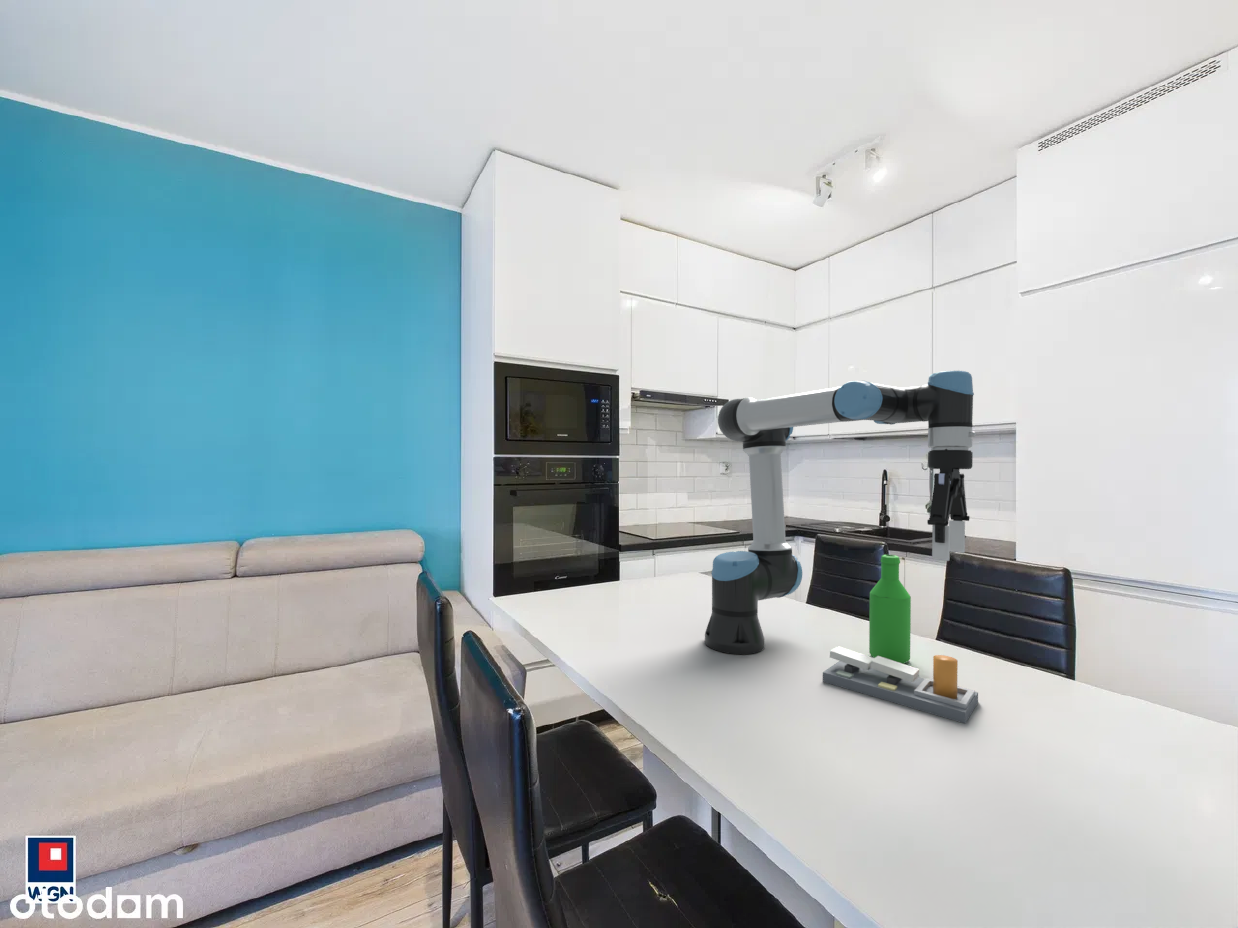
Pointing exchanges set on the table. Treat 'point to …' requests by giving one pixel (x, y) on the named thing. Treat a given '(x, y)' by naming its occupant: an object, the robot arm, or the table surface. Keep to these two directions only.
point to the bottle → (890, 614)
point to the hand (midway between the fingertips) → (949, 555)
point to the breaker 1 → (851, 657)
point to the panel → (903, 691)
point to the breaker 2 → (894, 668)
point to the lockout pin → (945, 676)
